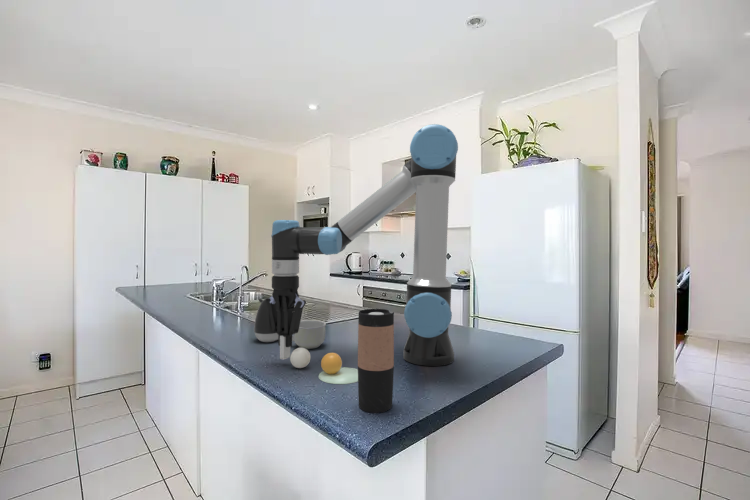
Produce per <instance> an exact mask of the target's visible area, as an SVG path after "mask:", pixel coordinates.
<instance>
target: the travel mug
mask: <svg viewBox="0 0 750 500" xmlns="http://www.w3.org/2000/svg"><path fill="white" fill-rule="evenodd" d="M394 317H395V312H394V311H393V312H390V310H389V309H385V308H368V309H367V308H366V309H361V310H359V311H358V327H357V328H358V329H357V333H358V334H357V342H358V343H357V369H358V382H357V389H358V392H357V393H358V395H357V397H358V407H359V409H360V410H362V411H364V412H366V413H370V414H371V413H372V414H378V413H379V412H381V413H385V411H386V412H388V411H390V410H391V408H393V400H394V399H393V397H394V396H393V395H394V394H393V393H394V375H395V374H394V372H395V361H394V360H395V359H394V358H395V356H394V355H395V351H394V350H395V341H394V340H395V337H394V335H395V333H394V332H395V331H394V330H395V326H394V325H395V321H394V319H395V318H394ZM389 409H390V410H389ZM387 410H388V411H387ZM379 414H380V413H379Z"/></svg>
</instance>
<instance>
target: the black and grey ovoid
mask: <svg viewBox="0 0 750 500" xmlns="http://www.w3.org/2000/svg"><path fill="white" fill-rule="evenodd" d="M267 298H268V297H266V298H264V299H262V298H259V299H258V302H259V303H260V304H259V306H258V309H257V311H256V315H255V318H254V325H253V333H254V335H255V338H256V339H257V340H259V342H262V343H273V342H277V341H278V334H277V333H276V332H273V331H272V326H271V320H270V314H269V309H268V305H267V303H266V299H267Z"/></svg>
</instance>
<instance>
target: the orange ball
mask: <svg viewBox="0 0 750 500" xmlns="http://www.w3.org/2000/svg"><path fill="white" fill-rule="evenodd" d="M342 365H343V360H342V358H341V356H340V354H338V353H337V352H327V353H326V354H325V355H323V356H322V359H321V361H320V366H321V369H322V371H324V372H326V373H327V374H335V373H337V372H338V371H339V370H340V369H341V367H343V366H342Z"/></svg>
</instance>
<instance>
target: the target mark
mask: <svg viewBox="0 0 750 500" xmlns="http://www.w3.org/2000/svg"><path fill="white" fill-rule="evenodd" d="M318 379H319V380H320V381H321V382H324V383H326V384H332V385H349V384H354V383H358V368H355V367H347V366H345V367H343V366H341V369H340V370H339V371H338V372H337V373H335V374H327V373H326V372H324V371H323V370H322V371H321V372H319V374H318Z"/></svg>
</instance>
